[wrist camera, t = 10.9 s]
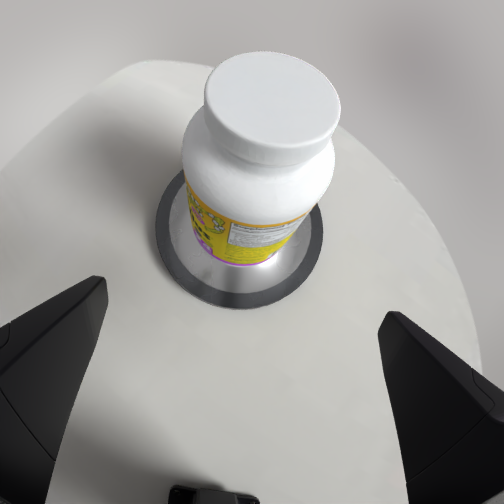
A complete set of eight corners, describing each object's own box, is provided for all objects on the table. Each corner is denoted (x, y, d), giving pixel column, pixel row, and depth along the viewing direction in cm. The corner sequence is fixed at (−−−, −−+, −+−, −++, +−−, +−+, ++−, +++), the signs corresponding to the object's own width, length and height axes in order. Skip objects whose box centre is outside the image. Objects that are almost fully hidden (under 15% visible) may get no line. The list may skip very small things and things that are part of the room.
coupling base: (306, 324, 22) (312, 323, 20) (139, 288, 21) (134, 285, 20) (325, 177, 25) (330, 169, 24) (183, 144, 24) (182, 135, 23)
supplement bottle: (191, 181, 22) (180, 34, 10) (281, 179, 23) (340, 44, 11) (193, 273, 20) (169, 177, 8) (292, 267, 21) (390, 177, 9)
